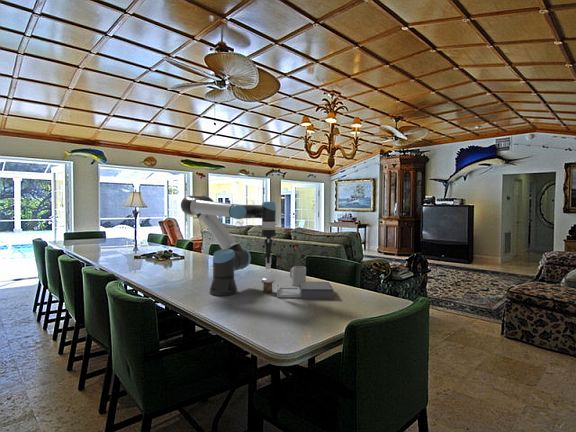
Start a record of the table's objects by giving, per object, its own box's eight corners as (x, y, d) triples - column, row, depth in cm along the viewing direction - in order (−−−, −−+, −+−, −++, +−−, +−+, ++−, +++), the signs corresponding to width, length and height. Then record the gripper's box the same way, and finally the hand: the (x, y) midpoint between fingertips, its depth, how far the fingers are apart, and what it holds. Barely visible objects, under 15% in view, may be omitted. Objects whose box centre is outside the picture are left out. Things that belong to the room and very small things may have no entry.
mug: (308, 285, 211) (308, 267, 210) (298, 287, 205) (299, 269, 205) (295, 281, 219) (295, 264, 219) (285, 283, 214) (285, 266, 213)
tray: (276, 297, 181) (277, 289, 181) (277, 289, 197) (277, 282, 197) (308, 297, 181) (308, 290, 181) (306, 290, 197) (306, 283, 197)
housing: (301, 298, 180) (301, 289, 180) (299, 290, 198) (299, 281, 198) (333, 298, 181) (333, 289, 181) (328, 290, 199) (328, 281, 199)
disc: (260, 282, 188) (260, 280, 188) (261, 279, 196) (261, 277, 196) (274, 283, 189) (275, 280, 189) (275, 279, 197) (275, 277, 197)
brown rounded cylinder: (263, 293, 190) (263, 282, 190) (263, 290, 195) (263, 280, 195) (272, 293, 190) (272, 282, 190) (272, 290, 195) (272, 280, 195)
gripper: (275, 230, 179) (275, 271, 180) (275, 227, 204) (275, 263, 205) (261, 230, 179) (260, 271, 180) (263, 227, 204) (262, 263, 204)
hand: (268, 266), depth 192 cm, fingers open, 13 cm apart
